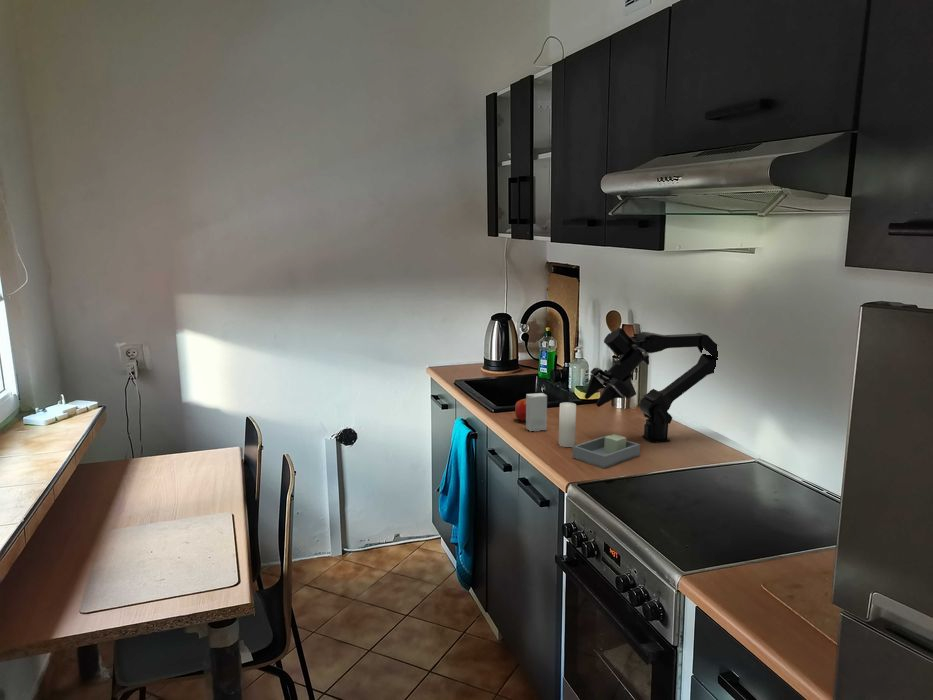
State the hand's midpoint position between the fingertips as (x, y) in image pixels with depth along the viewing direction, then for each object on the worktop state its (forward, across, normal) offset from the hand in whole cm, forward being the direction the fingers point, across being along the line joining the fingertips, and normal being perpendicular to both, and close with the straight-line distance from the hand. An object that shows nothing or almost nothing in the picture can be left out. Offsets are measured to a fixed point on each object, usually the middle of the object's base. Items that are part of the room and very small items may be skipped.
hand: (591, 402), depth 211 cm
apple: (+18, +27, -1) cm, 33 cm away
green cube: (+6, -10, -12) cm, 17 cm away
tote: (+10, -12, -10) cm, 18 cm away
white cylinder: (+15, 0, -4) cm, 15 cm away
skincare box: (+18, +17, -1) cm, 25 cm away
